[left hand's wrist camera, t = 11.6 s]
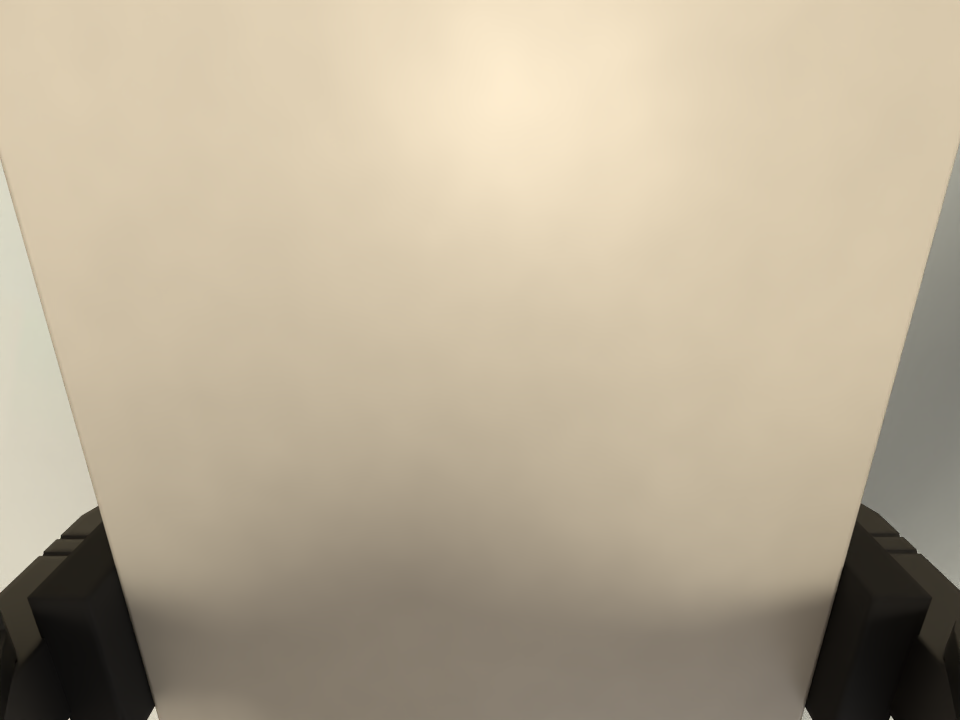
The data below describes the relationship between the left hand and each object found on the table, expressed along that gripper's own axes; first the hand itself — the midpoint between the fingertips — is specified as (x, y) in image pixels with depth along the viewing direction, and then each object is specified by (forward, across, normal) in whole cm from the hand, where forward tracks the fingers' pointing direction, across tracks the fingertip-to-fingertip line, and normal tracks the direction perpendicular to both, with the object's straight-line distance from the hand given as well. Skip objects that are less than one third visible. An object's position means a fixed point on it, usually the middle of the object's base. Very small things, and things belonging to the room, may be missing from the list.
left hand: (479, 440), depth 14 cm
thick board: (+1, 0, -28) cm, 28 cm away
